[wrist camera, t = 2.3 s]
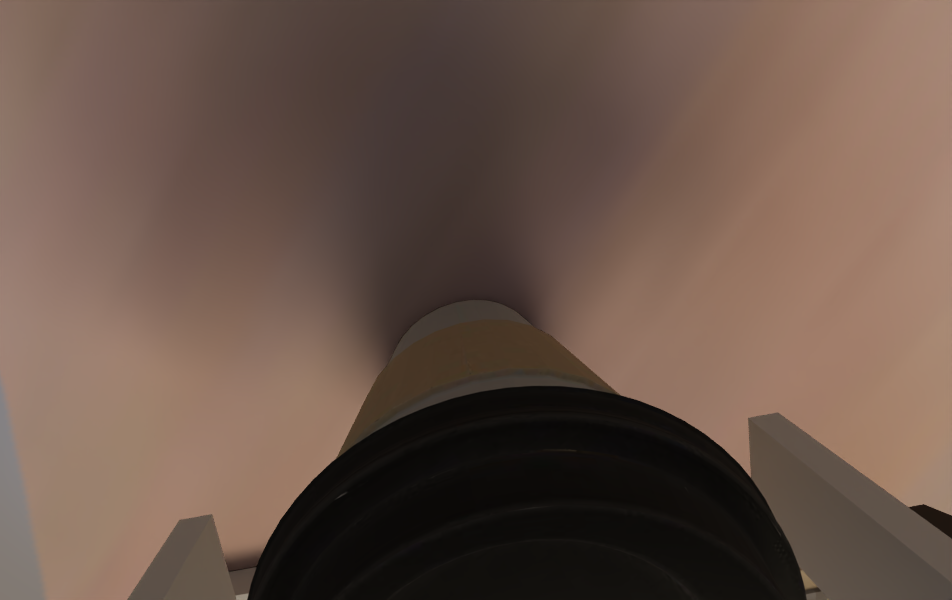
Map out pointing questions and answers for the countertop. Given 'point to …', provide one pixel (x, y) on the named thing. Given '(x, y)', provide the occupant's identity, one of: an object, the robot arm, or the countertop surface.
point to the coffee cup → (521, 487)
